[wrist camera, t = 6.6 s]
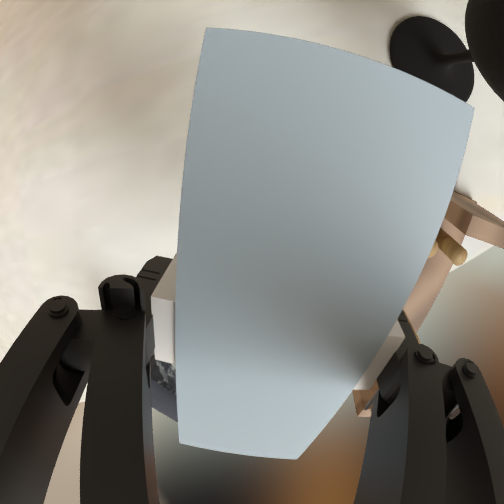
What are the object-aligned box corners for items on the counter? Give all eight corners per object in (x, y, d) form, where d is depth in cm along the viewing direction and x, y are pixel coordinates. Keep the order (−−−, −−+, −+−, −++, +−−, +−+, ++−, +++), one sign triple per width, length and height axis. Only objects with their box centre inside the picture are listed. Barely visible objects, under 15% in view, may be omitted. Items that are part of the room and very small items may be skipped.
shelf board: (190, 398, 15) (179, 443, 12) (228, 53, 7) (206, 27, 4) (296, 414, 15) (296, 459, 12) (419, 103, 7) (474, 107, 4)
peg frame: (326, 335, 34) (339, 416, 24) (385, 167, 25) (451, 206, 14) (404, 343, 35) (432, 412, 24) (472, 199, 25) (541, 246, 14)
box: (225, 362, 38) (214, 419, 29) (200, 377, 40) (187, 430, 31) (172, 322, 35) (148, 379, 27) (149, 340, 37) (125, 393, 29)
